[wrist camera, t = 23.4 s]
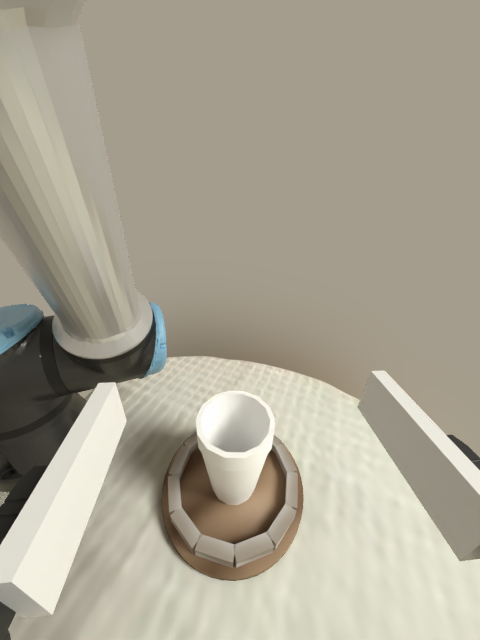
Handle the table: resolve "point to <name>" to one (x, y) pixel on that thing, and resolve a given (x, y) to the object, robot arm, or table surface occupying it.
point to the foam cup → (234, 442)
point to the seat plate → (231, 515)
